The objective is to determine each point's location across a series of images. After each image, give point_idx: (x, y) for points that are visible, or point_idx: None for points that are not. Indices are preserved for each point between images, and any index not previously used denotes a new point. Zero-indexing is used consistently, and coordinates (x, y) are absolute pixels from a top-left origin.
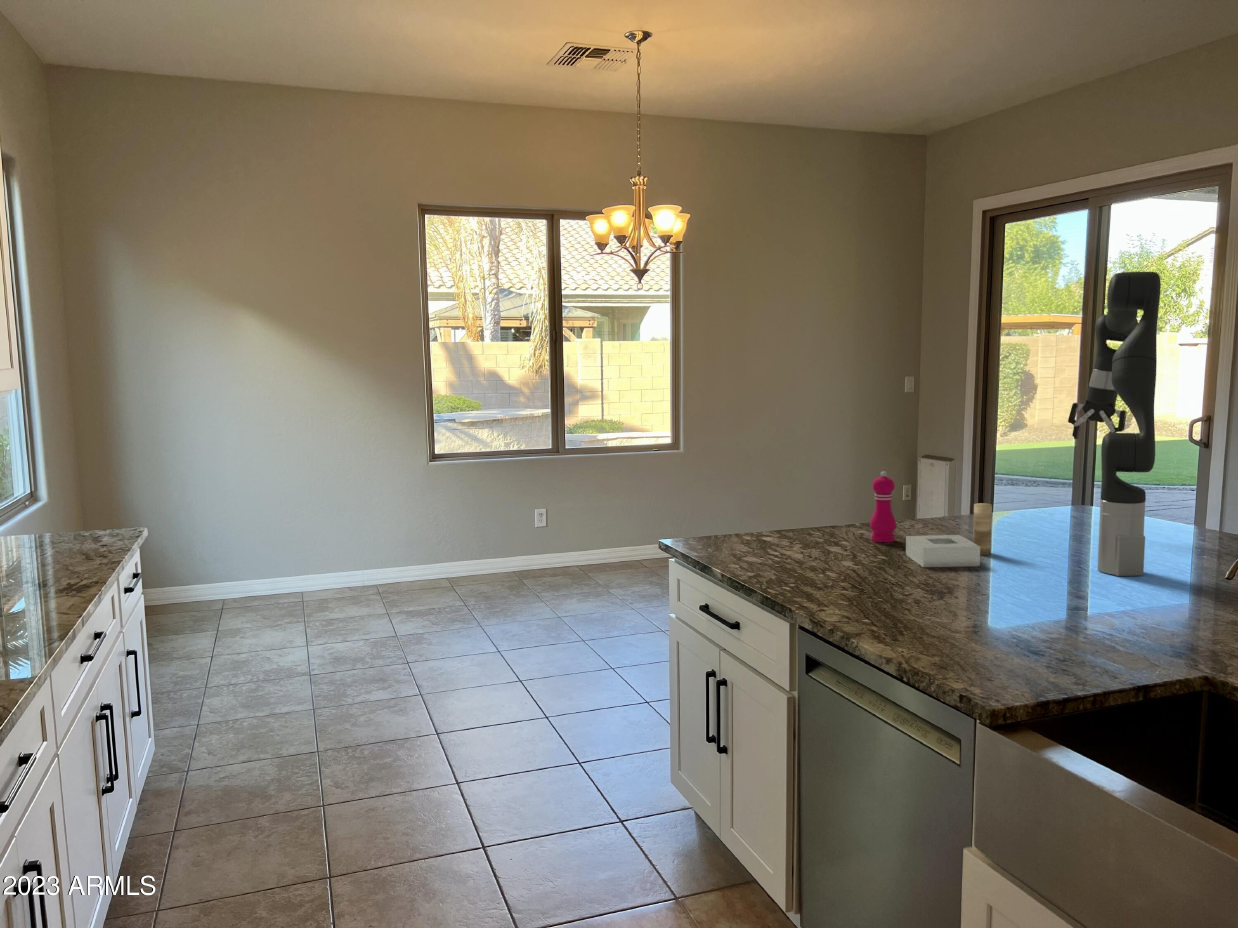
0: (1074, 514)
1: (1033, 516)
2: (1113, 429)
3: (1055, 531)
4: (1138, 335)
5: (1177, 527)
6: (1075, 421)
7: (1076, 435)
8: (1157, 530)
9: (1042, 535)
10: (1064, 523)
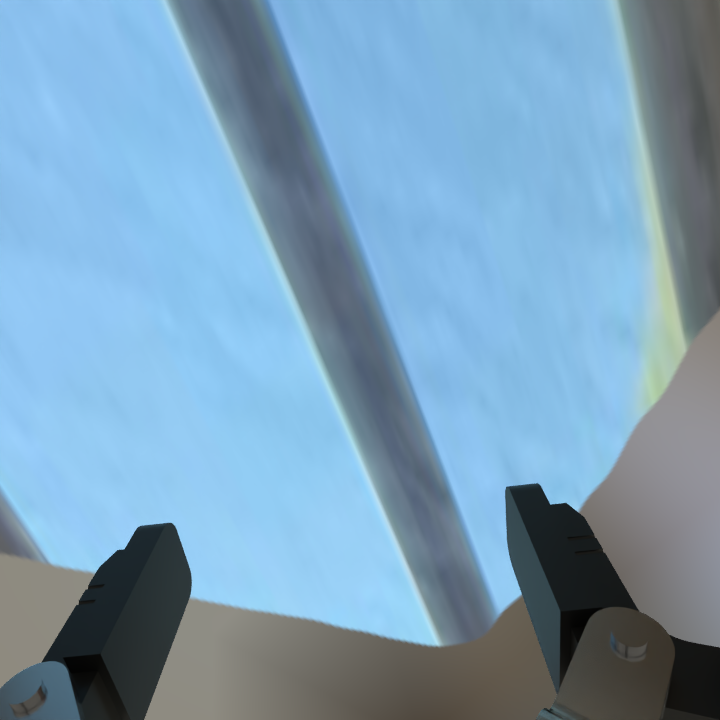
0: (451, 529)
1: (553, 409)
2: (2, 714)
3: (389, 169)
4: None
5: (94, 543)
6: (684, 703)
7: (526, 511)
8: (112, 452)
9: (399, 30)
10: (421, 358)
